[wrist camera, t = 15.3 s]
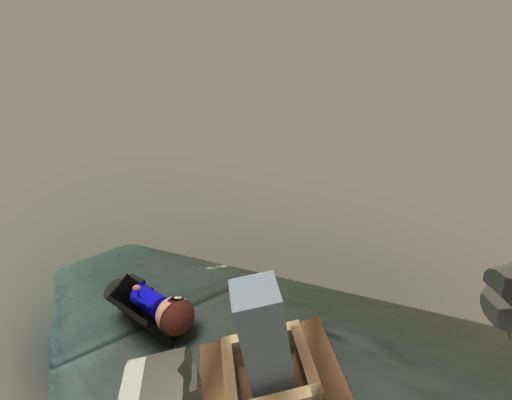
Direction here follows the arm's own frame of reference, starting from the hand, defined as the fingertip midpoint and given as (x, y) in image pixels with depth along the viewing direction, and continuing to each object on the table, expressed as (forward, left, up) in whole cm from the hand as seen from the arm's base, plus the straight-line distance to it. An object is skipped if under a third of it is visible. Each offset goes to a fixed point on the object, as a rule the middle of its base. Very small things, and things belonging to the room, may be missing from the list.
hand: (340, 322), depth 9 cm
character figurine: (+17, -33, -30) cm, 47 cm away
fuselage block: (+2, -18, -28) cm, 34 cm away
